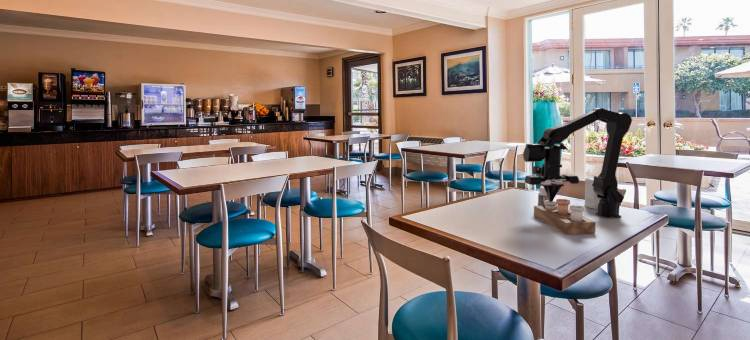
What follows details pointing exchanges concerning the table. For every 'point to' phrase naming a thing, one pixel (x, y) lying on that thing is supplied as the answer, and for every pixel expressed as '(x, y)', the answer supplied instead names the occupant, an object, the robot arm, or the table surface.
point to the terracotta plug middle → (562, 206)
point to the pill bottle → (542, 196)
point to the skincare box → (590, 194)
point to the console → (564, 221)
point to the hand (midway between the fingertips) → (550, 201)
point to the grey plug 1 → (550, 204)
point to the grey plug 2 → (576, 213)
